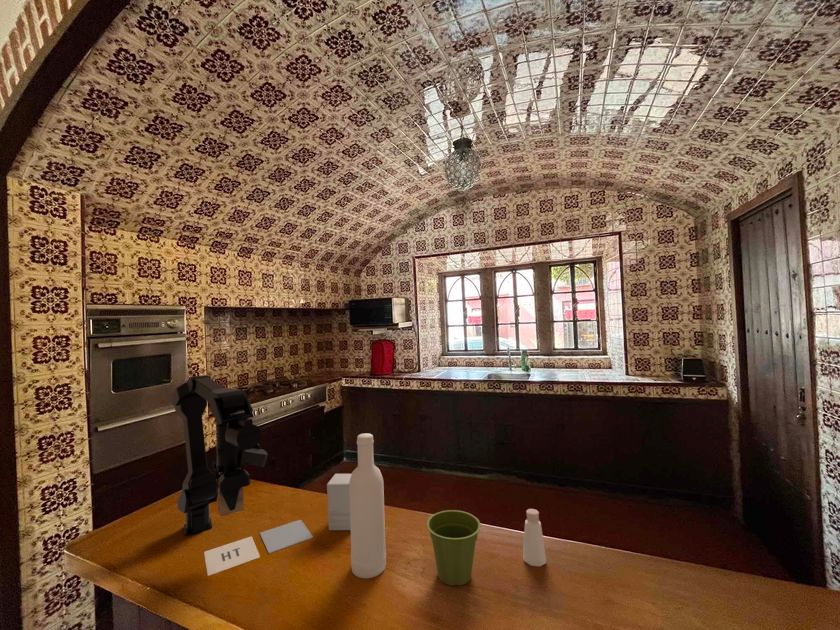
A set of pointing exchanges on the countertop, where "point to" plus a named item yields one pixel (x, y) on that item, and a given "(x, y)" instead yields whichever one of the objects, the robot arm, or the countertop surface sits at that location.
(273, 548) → the grey mat
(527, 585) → the countertop surface
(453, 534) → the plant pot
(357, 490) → the bottle
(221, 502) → the walnut block
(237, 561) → the card
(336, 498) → the supplement box
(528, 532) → the salt shaker
